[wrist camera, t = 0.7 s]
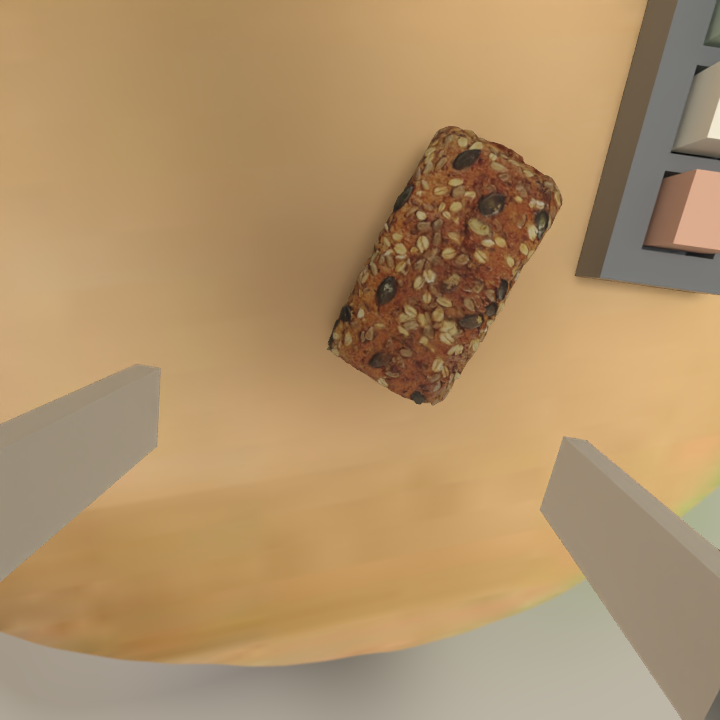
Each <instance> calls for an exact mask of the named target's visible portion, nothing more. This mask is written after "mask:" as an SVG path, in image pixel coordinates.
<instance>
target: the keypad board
mask: <svg viewBox="0 0 720 720" xmlns="http://www.w3.org/2000/svg"><path fill="white" fill-rule="evenodd" d="M716 1H717V0H648V4H647V7H646V11H645V15H644V19H643V22H642V26H641V30H640V34H639V37H638V41H637V45H636V49H635V53H634V56H633V60H632V64H631V68H630V71H629V75H628V79H627V83H626V86H625V90H624V94H623V98H622V101H621V105H620V109H619V113H618V116H617V120H616V124H615V128H614V131H613V135H612V139H611V143H610V146H609V150H608V154H607V158H606V161H605V165H604V169H603V173H602V176H601V180H600V184H599V188H598V191H597V195H596V199H595V203H594V207H593V210H592V214H591V218H590V222H589V225H588V229H587V233H586V237H585V240H584V244H583V248H582V252H581V255H580V259H579V263H578V267H577V270H576V274H575V276H580V277H587V278H594V279H601V280H608V281H615V282H622V283H629V284H637V285H644V286H651V287H658V288H665V289H672V290H679V291H686V292H693V293H703V294H713V295H720V253H713V254H700V253H693V252H686V251H679V250H672V249H665V248H658V247H651V246H644V245H643V242H644V239H645V236H646V232H647V229H648V226H649V222H650V219H651V216H652V212H653V209H654V206H655V202H656V199H657V196H658V193H659V189H660V186H661V183H662V179H663V178H667V177H670V176H674V175H677V174H681V173H685V172H688V171H692V170H695V169H700V170H707V171H714V172H720V158H714V157H708V156H701V155H694V154H687V153H680V152H673V151H671V149H672V146H673V143H674V140H675V136H676V133H677V130H678V126H679V123H680V120H681V116H682V113H683V110H684V106H685V103H686V100H687V97H688V93H689V90H690V87H691V83H692V80H693V77H694V76H695V75H696V74H698V73H700V72H702V71H703V70H705V69H707V68H709V67H710V66H712V65H714V64H716V63H717V62H719V61H720V48H717V47H710V46H704V45H703V44H704V40H705V37H706V34H707V30H708V27H709V24H710V20H711V17H712V14H713V11H714V7H715V4H716Z"/></svg>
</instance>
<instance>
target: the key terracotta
mask: <svg viewBox="0 0 720 720" xmlns="http://www.w3.org/2000/svg"><path fill="white" fill-rule="evenodd" d="M643 245H644V246H651V247H658V248H665V249H672V250H679V251H686V252H693V253H700V254H713V253H720V172H714V171H707V170H700V169H695V170H692V171H688V172H685V173H681V174H677V175H674V176H670V177H667V178H663V179H662V183H661V186H660V189H659V193H658V196H657V199H656V202H655V206H654V209H653V212H652V216H651V219H650V222H649V226H648V229H647V232H646V236H645V239H644V242H643Z"/></svg>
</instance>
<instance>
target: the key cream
mask: <svg viewBox="0 0 720 720" xmlns="http://www.w3.org/2000/svg"><path fill="white" fill-rule="evenodd" d="M671 151H673V152H680V153H687V154H694V155H701V156H708V157H714V158H720V61H719V62H717V63H716V64H714V65H712V66H710V67H709V68H707V69H705V70H703V71H702V72H700V73H698V74H696V75H695V76H694V77H693V80H692V83H691V87H690V90H689V93H688V97H687V100H686V103H685V106H684V110H683V113H682V116H681V120H680V123H679V126H678V130H677V133H676V136H675V140H674V143H673V146H672V149H671Z"/></svg>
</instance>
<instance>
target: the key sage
mask: <svg viewBox="0 0 720 720" xmlns="http://www.w3.org/2000/svg"><path fill="white" fill-rule="evenodd" d="M703 45H704V46H710V47H717V48H720V0H717V1H716V4H715V7H714V11H713V14H712V17H711V20H710V24H709V27H708V30H707V34H706V37H705V40H704V44H703Z"/></svg>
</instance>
